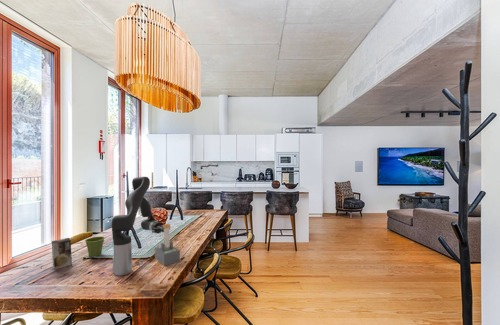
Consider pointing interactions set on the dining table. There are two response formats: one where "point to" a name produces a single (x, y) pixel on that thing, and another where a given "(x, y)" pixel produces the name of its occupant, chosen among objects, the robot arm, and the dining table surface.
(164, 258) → the box
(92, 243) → the plant pot
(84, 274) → the dining table surface
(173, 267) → the dining table surface
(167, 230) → the breaker lever
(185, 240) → the dining table surface
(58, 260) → the coffee box
